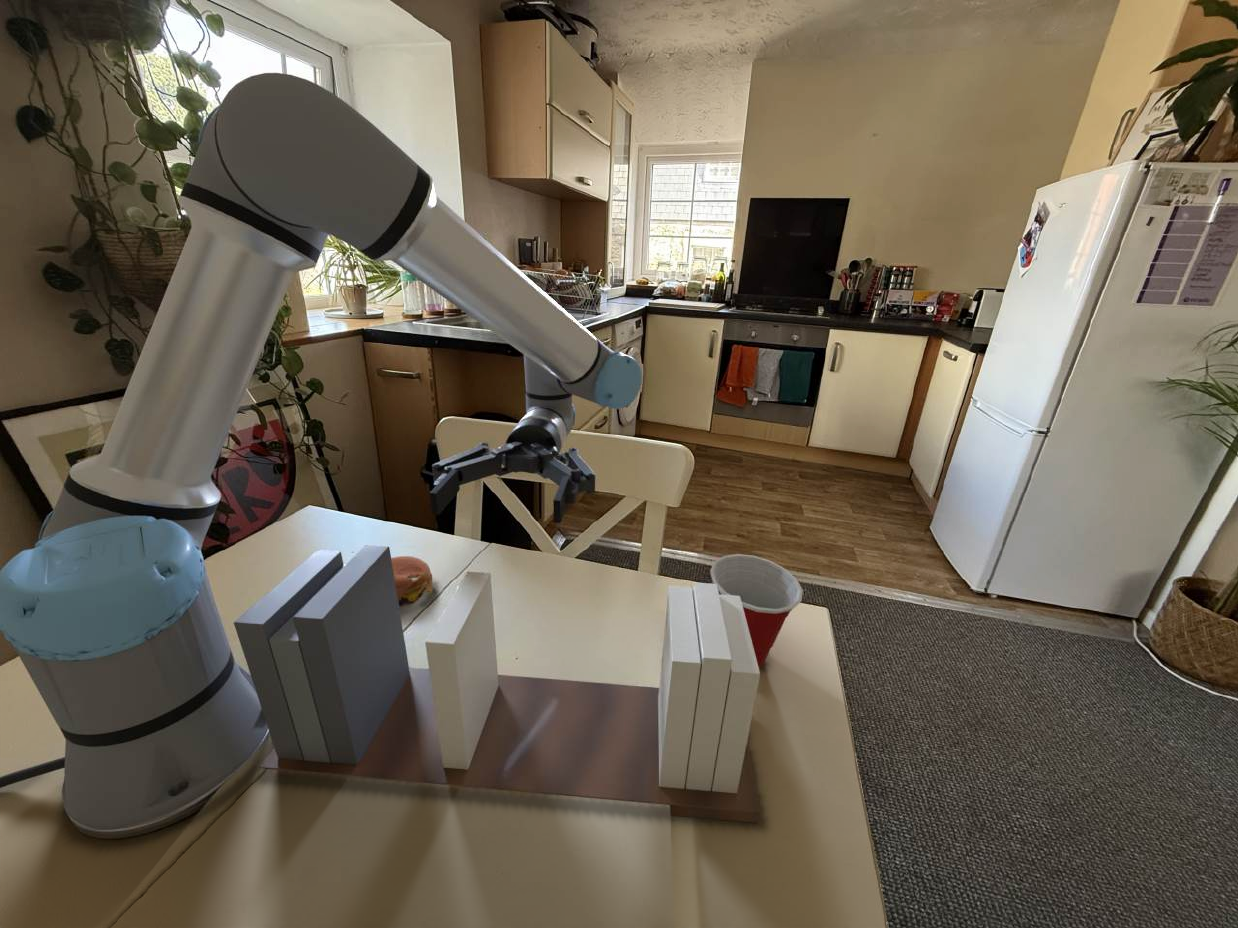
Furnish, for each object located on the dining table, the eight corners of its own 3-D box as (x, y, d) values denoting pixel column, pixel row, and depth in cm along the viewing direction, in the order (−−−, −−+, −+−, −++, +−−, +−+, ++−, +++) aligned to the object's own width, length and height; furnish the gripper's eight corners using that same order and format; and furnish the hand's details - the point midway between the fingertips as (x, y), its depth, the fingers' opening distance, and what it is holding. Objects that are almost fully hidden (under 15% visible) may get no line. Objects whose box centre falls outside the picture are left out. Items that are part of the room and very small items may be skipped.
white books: (659, 786, 45) (672, 655, 39) (658, 697, 55) (669, 580, 49) (737, 793, 45) (762, 662, 39) (722, 702, 54) (741, 585, 48)
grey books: (277, 758, 47) (229, 612, 40) (344, 668, 57) (315, 541, 50) (357, 765, 46) (322, 619, 40) (410, 674, 56) (389, 546, 50)
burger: (386, 572, 76) (381, 546, 75) (444, 577, 76) (441, 551, 74) (347, 614, 67) (341, 586, 65) (413, 621, 67) (409, 592, 65)
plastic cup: (791, 697, 57) (811, 614, 53) (697, 680, 59) (708, 598, 54) (782, 633, 67) (798, 558, 62) (701, 620, 69) (711, 546, 64)
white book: (442, 767, 46) (424, 642, 41) (477, 683, 56) (467, 571, 50) (468, 769, 46) (453, 644, 40) (498, 684, 55) (490, 572, 50)
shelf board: (261, 778, 46) (257, 767, 46) (342, 671, 58) (340, 661, 58) (758, 823, 44) (760, 812, 44) (735, 703, 56) (737, 693, 56)
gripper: (619, 469, 74) (608, 544, 55) (456, 459, 76) (388, 530, 56) (621, 421, 72) (610, 483, 52) (452, 412, 73) (378, 470, 53)
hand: (495, 508), depth 54 cm, fingers open, 13 cm apart
